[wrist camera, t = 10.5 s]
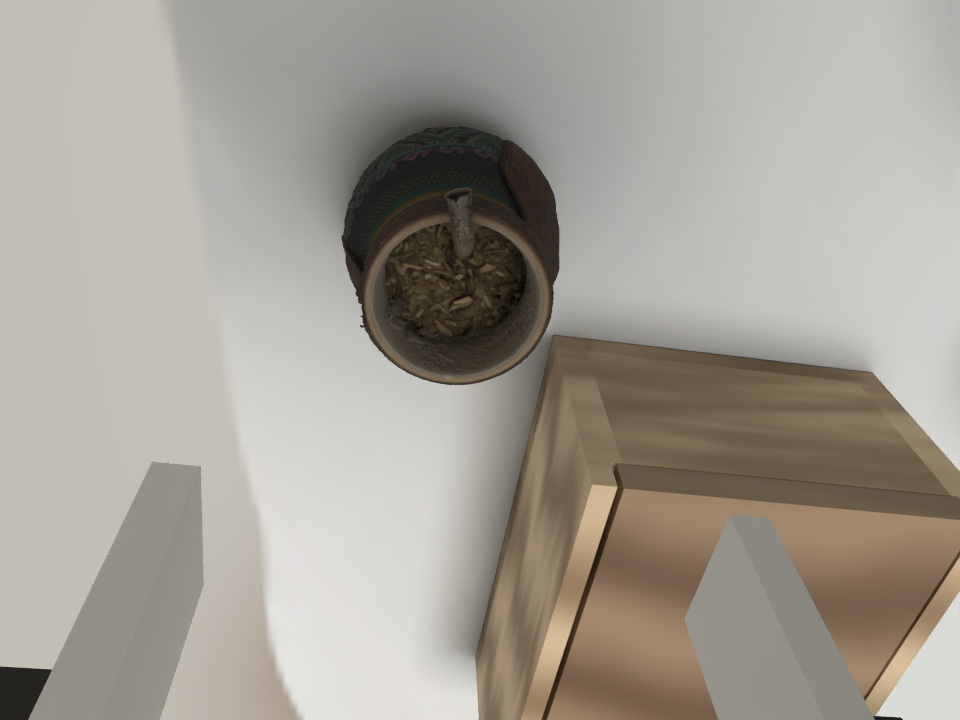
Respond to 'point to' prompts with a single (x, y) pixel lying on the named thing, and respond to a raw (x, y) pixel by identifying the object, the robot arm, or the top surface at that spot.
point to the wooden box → (682, 446)
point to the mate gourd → (453, 254)
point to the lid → (685, 556)
